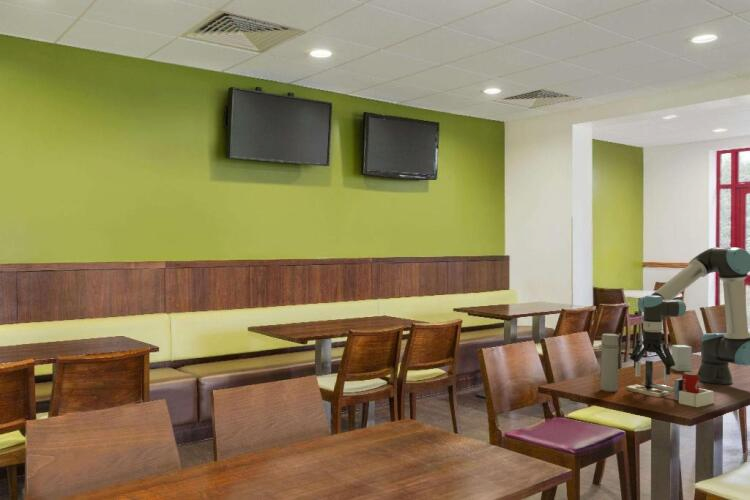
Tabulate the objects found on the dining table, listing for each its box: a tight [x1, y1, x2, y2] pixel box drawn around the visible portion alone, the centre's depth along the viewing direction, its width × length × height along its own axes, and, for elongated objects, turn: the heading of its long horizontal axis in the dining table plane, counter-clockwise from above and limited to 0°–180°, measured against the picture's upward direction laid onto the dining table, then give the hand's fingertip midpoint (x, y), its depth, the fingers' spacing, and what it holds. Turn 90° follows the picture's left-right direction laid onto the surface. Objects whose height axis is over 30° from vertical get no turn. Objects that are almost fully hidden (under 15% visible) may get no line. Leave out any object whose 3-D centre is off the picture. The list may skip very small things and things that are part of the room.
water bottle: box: [595, 333, 619, 393], centre depth 290 cm, size 9×8×25 cm
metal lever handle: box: [641, 360, 682, 400], centre depth 281 cm, size 18×7×13 cm, turn 34°
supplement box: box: [671, 344, 693, 372], centre depth 339 cm, size 7×7×13 cm
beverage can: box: [681, 371, 700, 394], centre depth 271 cm, size 6×6×12 cm
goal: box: [678, 387, 715, 408], centre depth 269 cm, size 12×8×5 cm, turn 124°
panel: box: [625, 384, 670, 398], centre depth 287 cm, size 8×16×2 cm, turn 34°
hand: (651, 379), depth 286 cm, fingers open, 13 cm apart
